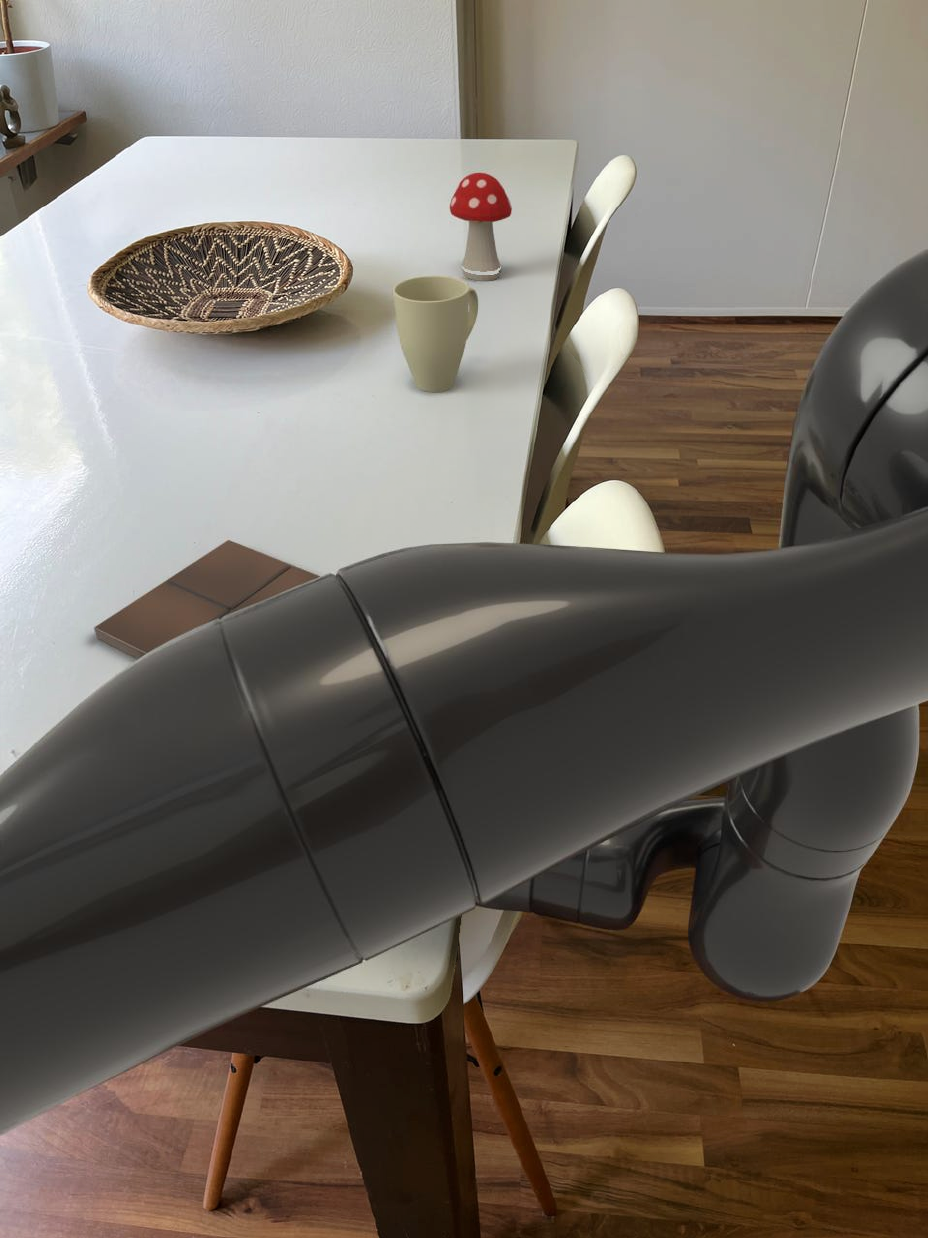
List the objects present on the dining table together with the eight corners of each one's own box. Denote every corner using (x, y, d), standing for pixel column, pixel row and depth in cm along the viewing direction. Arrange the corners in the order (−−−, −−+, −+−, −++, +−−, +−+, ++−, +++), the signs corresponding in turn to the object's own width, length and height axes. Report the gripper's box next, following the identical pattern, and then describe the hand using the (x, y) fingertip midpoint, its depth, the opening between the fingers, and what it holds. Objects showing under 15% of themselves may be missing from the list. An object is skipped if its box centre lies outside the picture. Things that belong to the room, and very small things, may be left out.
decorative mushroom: (523, 274, 155) (524, 172, 146) (487, 289, 150) (486, 184, 141) (475, 261, 160) (474, 162, 151) (439, 275, 155) (435, 173, 146)
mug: (478, 399, 119) (476, 301, 112) (396, 399, 120) (389, 302, 112) (479, 362, 128) (477, 269, 121) (402, 363, 128) (397, 270, 121)
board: (233, 707, 77) (230, 694, 76) (96, 638, 84) (92, 626, 83) (362, 603, 87) (360, 590, 86) (230, 549, 94) (228, 537, 93)
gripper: (496, 705, 60) (242, 661, 64) (426, 893, 49) (125, 826, 53) (497, 790, 65) (259, 743, 69) (432, 979, 54) (154, 911, 58)
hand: (202, 780), depth 61 cm, fingers closed on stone, 4 cm apart
